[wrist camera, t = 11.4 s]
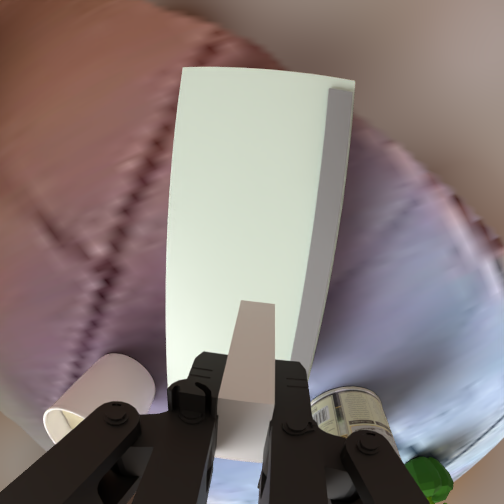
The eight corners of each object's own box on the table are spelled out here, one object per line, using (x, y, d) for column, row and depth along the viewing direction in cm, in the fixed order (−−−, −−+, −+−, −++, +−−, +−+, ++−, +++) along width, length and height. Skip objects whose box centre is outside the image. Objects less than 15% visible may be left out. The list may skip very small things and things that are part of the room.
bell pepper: (381, 478, 38) (392, 526, 28) (413, 446, 36) (432, 497, 26) (417, 481, 38) (431, 524, 29) (448, 451, 36) (468, 495, 26)
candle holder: (82, 376, 36) (36, 432, 25) (108, 331, 34) (53, 391, 22) (141, 419, 37) (109, 484, 26) (176, 382, 35) (143, 456, 23)
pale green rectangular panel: (171, 394, 28) (166, 403, 27) (186, 70, 21) (180, 65, 19) (297, 416, 27) (297, 425, 26) (353, 83, 20) (356, 79, 18)
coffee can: (363, 445, 36) (381, 528, 22) (290, 438, 36) (291, 529, 22) (396, 389, 33) (433, 477, 19) (316, 379, 33) (329, 480, 20)
